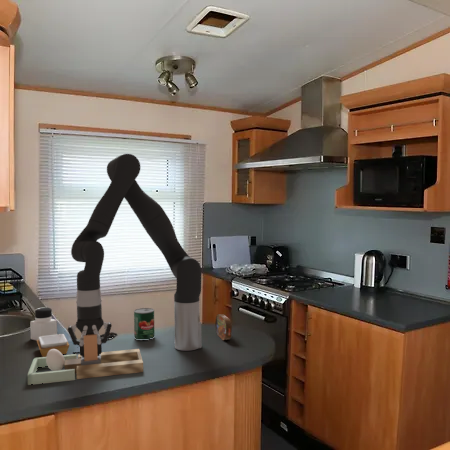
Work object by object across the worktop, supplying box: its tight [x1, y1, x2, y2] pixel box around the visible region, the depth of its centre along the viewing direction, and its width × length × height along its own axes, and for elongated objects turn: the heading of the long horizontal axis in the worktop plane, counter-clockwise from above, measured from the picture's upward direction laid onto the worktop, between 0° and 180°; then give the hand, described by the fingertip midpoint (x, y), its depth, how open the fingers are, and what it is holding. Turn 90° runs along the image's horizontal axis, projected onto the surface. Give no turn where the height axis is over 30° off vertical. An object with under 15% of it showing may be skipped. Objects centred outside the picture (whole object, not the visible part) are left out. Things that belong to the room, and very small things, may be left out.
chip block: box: [63, 357, 81, 374], centre depth 146 cm, size 5×5×3 cm
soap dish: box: [36, 333, 70, 357], centre depth 165 cm, size 12×10×5 cm
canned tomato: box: [133, 307, 156, 339], centre depth 180 cm, size 8×8×11 cm
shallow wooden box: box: [76, 348, 144, 380], centre depth 149 cm, size 20×14×3 cm
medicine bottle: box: [29, 306, 58, 342], centre depth 181 cm, size 7×7×12 cm
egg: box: [46, 349, 65, 371], centre depth 145 cm, size 5×5×7 cm
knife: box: [100, 331, 118, 339], centre depth 174 cm, size 25×6×1 cm, turn 154°
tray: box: [26, 353, 78, 386], centre depth 144 cm, size 13×15×3 cm
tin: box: [214, 313, 233, 341], centre depth 181 cm, size 15×3×8 cm, turn 16°
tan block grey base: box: [81, 334, 101, 366], centre depth 147 cm, size 6×6×11 cm
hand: (90, 355), depth 147 cm, fingers closed on tan block grey base, 4 cm apart
